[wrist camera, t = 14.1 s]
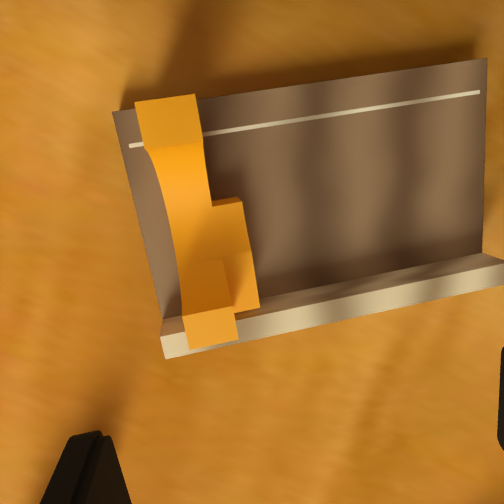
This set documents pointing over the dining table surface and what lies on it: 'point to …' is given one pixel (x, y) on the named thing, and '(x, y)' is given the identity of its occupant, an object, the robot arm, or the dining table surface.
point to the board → (336, 196)
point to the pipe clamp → (199, 224)
